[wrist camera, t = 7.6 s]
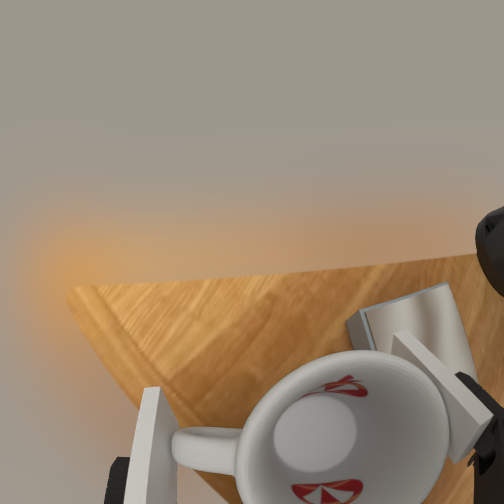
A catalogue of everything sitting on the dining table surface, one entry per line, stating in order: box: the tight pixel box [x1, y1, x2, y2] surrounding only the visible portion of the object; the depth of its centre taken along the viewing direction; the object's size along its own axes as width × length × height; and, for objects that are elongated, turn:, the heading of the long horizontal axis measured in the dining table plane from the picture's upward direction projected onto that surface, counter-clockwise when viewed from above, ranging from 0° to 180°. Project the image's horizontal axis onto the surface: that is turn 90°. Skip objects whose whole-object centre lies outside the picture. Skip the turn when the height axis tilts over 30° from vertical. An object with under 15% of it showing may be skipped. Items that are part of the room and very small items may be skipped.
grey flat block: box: [346, 281, 478, 384], centre depth 25 cm, size 12×14×5 cm
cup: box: [171, 350, 449, 504], centre depth 11 cm, size 11×8×8 cm
